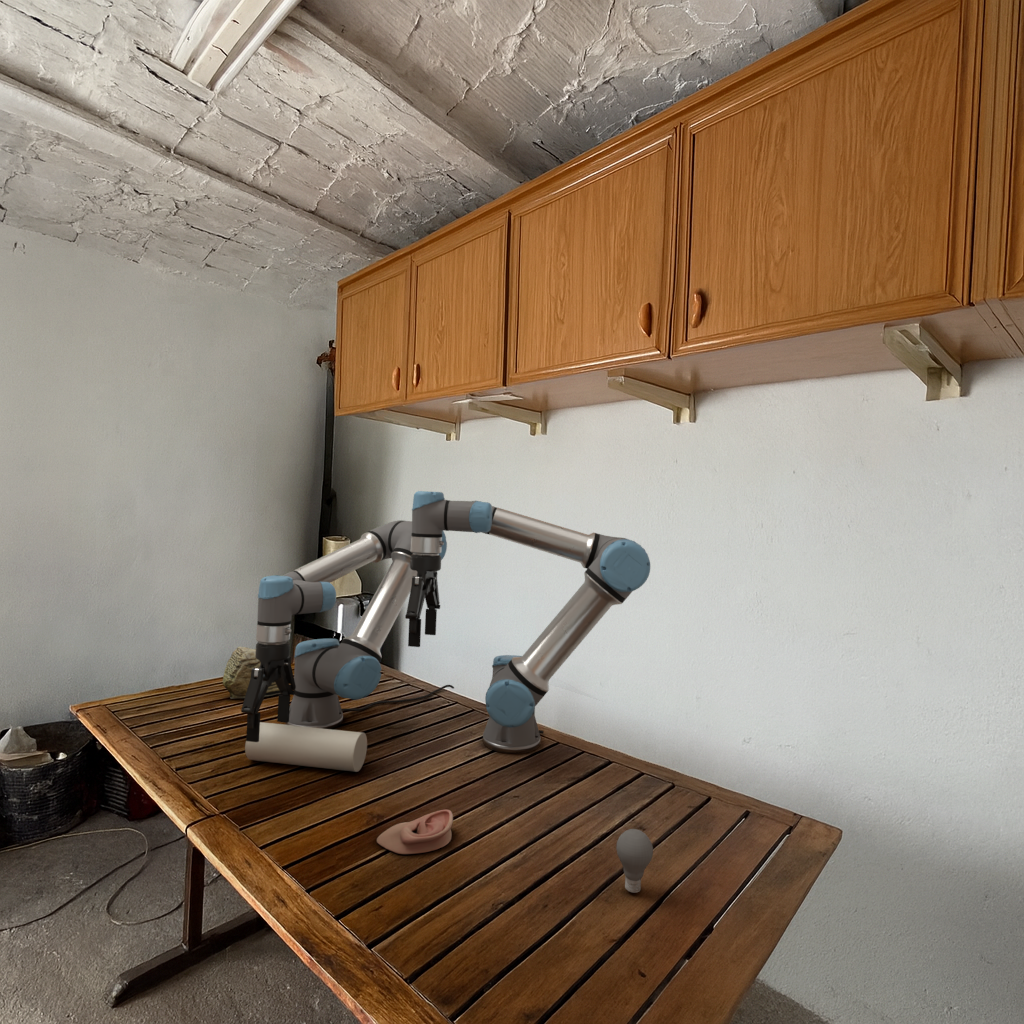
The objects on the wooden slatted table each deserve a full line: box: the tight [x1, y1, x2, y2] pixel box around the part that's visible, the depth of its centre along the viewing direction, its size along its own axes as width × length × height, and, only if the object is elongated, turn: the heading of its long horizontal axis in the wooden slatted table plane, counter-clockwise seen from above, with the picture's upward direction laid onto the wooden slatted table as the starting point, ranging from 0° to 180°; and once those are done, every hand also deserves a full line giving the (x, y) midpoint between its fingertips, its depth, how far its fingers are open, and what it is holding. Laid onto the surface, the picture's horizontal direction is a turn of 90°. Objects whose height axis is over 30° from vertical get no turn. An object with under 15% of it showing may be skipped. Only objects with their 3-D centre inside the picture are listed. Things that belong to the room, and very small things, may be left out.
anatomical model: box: [376, 809, 454, 855], centre depth 119 cm, size 13×4×12 cm
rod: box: [244, 721, 368, 773], centre depth 149 cm, size 26×9×9 cm, turn 81°
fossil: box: [222, 646, 281, 699], centre depth 198 cm, size 9×18×15 cm, turn 132°
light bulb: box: [615, 828, 654, 894], centre depth 106 cm, size 6×6×10 cm
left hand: (268, 731), depth 150 cm, fingers open, 13 cm apart
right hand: (422, 640), depth 156 cm, fingers open, 13 cm apart
